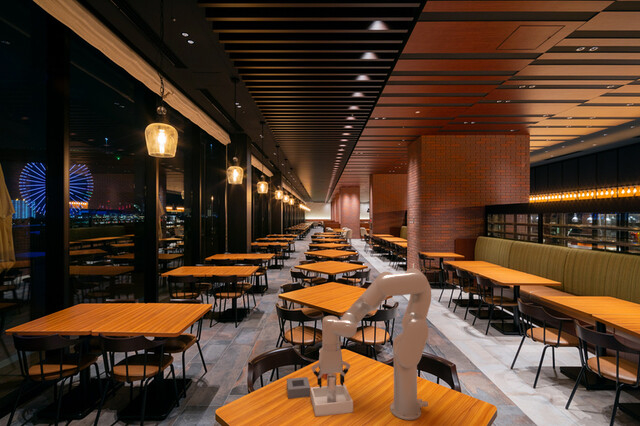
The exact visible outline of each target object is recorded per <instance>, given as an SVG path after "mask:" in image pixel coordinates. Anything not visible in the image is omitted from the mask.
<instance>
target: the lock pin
mask: <svg viewBox="0 0 640 426" xmlns="http://www.w3.org/2000/svg"><path fill="white" fill-rule="evenodd" d="M336 385H337V373H330V374H328V375H327V379H326V386H327V403H333V402H336Z"/></svg>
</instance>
